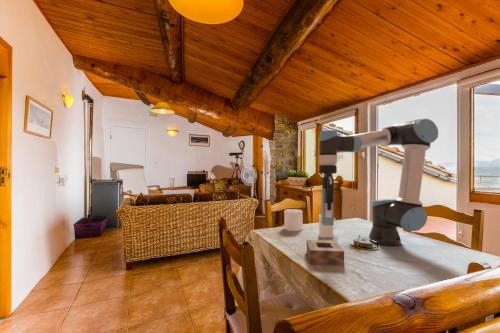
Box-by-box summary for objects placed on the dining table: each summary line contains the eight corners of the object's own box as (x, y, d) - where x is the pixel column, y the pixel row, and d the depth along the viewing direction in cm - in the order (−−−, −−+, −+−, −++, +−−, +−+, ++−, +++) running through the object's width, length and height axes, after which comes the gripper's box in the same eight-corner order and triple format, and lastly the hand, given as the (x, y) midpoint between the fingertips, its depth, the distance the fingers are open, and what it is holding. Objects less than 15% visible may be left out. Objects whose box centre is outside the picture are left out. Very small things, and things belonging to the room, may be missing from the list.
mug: (333, 232, 147) (333, 213, 147) (341, 236, 139) (341, 216, 139) (315, 234, 144) (315, 214, 144) (323, 238, 136) (323, 217, 136)
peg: (331, 223, 109) (331, 188, 109) (333, 225, 105) (333, 189, 105) (321, 222, 110) (321, 188, 110) (323, 225, 106) (323, 189, 105)
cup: (284, 230, 152) (284, 212, 152) (284, 226, 163) (284, 208, 163) (303, 231, 150) (302, 212, 150) (302, 226, 161) (301, 209, 161)
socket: (336, 253, 114) (336, 240, 114) (344, 265, 100) (344, 251, 100) (306, 251, 116) (306, 239, 116) (310, 264, 102) (310, 250, 102)
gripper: (316, 164, 116) (315, 211, 117) (322, 164, 99) (322, 220, 99) (332, 164, 115) (331, 212, 116) (341, 164, 98) (341, 220, 98)
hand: (327, 215), depth 107 cm, fingers closed on peg, 4 cm apart
